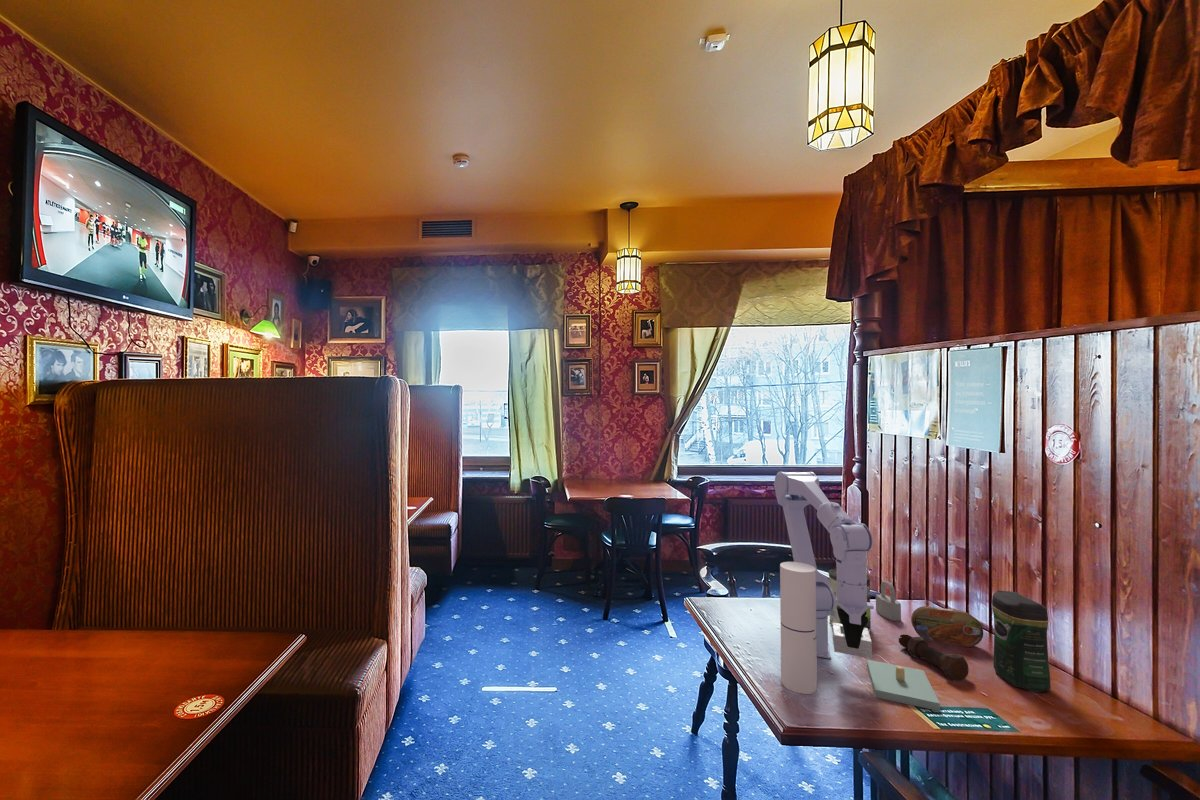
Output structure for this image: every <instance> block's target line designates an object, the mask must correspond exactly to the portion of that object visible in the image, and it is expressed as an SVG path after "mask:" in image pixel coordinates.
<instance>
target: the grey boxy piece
mask: <svg viewBox="0 0 1200 800" xmlns="http://www.w3.org/2000/svg"><path fill="white" fill-rule="evenodd" d="M832 625H833V626H832ZM832 625H831V626H832V643H833V650H834V653H839V654H845V655H850V656H856V657H860V658H865V659H869V660H871V659H872V660H873V648H872V647H873V644H872V643H873V641H872V639H871V635H870V632H868V628H864V630H863V632H862V636H861V641H860V645H859V648H858V649H856V648H851V647H848V646H847V643H846V638H845V633H844V628H843V625H842V624H839V623H833V622H832Z"/></svg>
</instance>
